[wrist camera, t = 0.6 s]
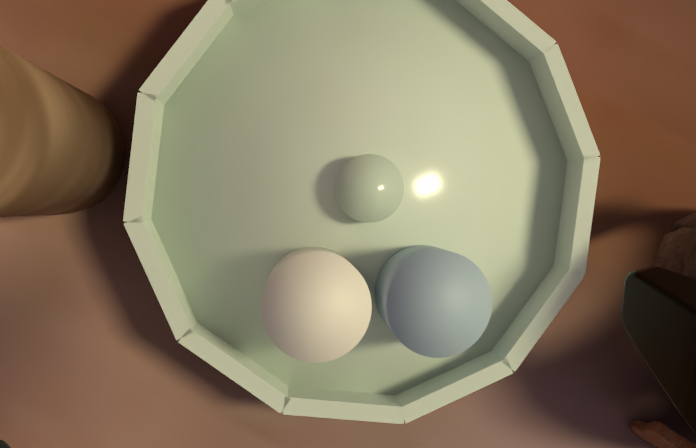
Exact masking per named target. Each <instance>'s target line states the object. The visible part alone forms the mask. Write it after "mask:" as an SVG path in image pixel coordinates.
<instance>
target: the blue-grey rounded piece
mask: <svg viewBox="0 0 696 448" xmlns="http://www.w3.org/2000/svg"><path fill="white" fill-rule="evenodd" d="M374 294H375V303H376V307H377V310H378V312H379V314H380V316H381V318H382V319H383V321H384V322H385V324H386V325H387V326H388V327H389V328H390V330H391V331H392V332H393V333H394V335H395V336H396V337H397V338H398V339H399V341H400V342H401V343H402V344H403V345H405V346H406V347H407V348H408V349H410V350H411V351H413V352H415V353H417V354H419V355H422V356H426V357H431V358H444V357H450V356H454V355H456V354H459V353H461V352H463V351H465V350H467V349H468V348H469V347H471V346H472V345H473V344H474V343H475V342H476V341H477V340H478V339H479V338H480V337H481V335H482V334H483V332H484V331H485V329H486V327H487V325H488V322H489V319H490V315H491V310H492V296H491V290H490V287H489V284H488V281H487V279H486V277H485V276H484V274H483V273H482V271H481V270H480V269H479V267H478V266H477V265H476V264H474V263H473V262H472V261H471V260H469V259H468V258H466V257H464V256H462V255H460V254H457V253H454V252H451V251H448V250H444V249H441V248H438V247H434V246H429V245H415V246H410V247H407V248H404V249H402V250H400V251H398V252H397V253H395V254H394V255H393V256H391V257H390V258H389V259H388V260H387V261H386V263H385V264H384V265H383V267H382V268H381V270H380V272H379V274H378V277H377V280H376V284H375V293H374Z"/></svg>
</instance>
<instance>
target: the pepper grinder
mask: <svg viewBox="0 0 696 448" xmlns="http://www.w3.org/2000/svg"><path fill="white" fill-rule="evenodd" d="M124 156H125V148H124V140H123V136H122V133H121V130H120V127H119V125H118V123H117V121H116V120H115V118H114V117H113V115H112V114H111V112H110V111H109V110H108V109H107V108H106V107H105V106H104V105H103V104H102V103H101V102H99V101H98V100H97V99H95V98H94V97H92V96H90V95H89V94H87V93H85V92H83V91H81V90H80V89H78V88H76V87H74V86H72V85H71V84H69V83H67V82H65V81H63V80H61V79H60V78H58V77H56V76H54V75H52V74H51V73H49V72H47V71H45V70H43V69H42V68H40V67H38V66H36V65H34V64H32V63H31V62H29V61H27V60H25V59H23V58H22V57H20V56H18V55H16V54H14V53H12V52H11V51H9V50H7V49H5V48H3V47H2V46H0V217H5V216H28V215H51V214H69V213H74V212H78V211H81V210H84V209H87V208H89V207H91V206H93V205H95V204H96V203H98V202H99V201H101V200H102V199H103V198H104V197H105V196H106V195H107V194H108V193H109V192H110V191H111V190H112V189H113V187H114V186H115V184H116V183H117V181H118V179H119V176H120V174H121V171H122V168H123V164H124Z"/></svg>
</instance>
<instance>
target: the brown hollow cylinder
mask: <svg viewBox="0 0 696 448" xmlns="http://www.w3.org/2000/svg"><path fill="white" fill-rule="evenodd" d="M672 231H673V232H670V233H667V234H666V235H664V236H663V238H662V240H661V242H660V244H659V247H658V253H657V256H656V259H655V263H654V265H653V266H658V267H662V268H665V269H668V270H671V271H674V272H677V273H681V274H684V275H687V276H690V277H693V278H696V211H695V212H693V213H691V214H689V215H687V216H685V217H683V218H682V219H679V220H678V221H676V222H675V223H674V224H673V225H672ZM630 428H631V429H632V431H633V432H634V433H635V434H637V435H638V436H640V437H641V438H642V439H644V440H645V441H647V442H649V443H650V444H652V445H654V446H656V447H658V448H696V443H694V442H692V441H690V440H688V439H686V438H685V437H683V436H681V435H680V434H678V433H677V432H675V431H673V430H672V429H670V428H669V427H667V426H666V425H664V424H663V423H661V422H659V421H652V422H649V423H645V422H642V421H633V422H632V423H631V424H630Z"/></svg>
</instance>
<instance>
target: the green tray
mask: <svg viewBox="0 0 696 448" xmlns="http://www.w3.org/2000/svg"><path fill="white" fill-rule="evenodd" d="M555 43H556V41H555V40H554V39H552V38H551V37H550V36H549V35H548V34H546V33H545V32H544V31H543V30H542V29H541V28H539V27H538V26H537V25H536V24H535V23H533V22H532V21H531V20H530V19H529V18H527V17H526V16H525V15H524V14H523V13H521V12H520V11H519V10H518V9H517V8H516V7H514V6H513V5H512V4H511V3H510V2H508V1H507V0H208V1H207V2H206V3H205V5H204V6H203V7H202V9H201V10H200V11H199V12H198V14H197V15H196V16H195V18H194V19H193V20H192V21H191V23H190V24H189V25H188V27H187V28H186V29H185V31H184V32H183V33H182V34H181V36H180V37H179V38H178V40H177V41H176V42H175V43H174V45H173V46H172V47H171V49H170V50H169V51H168V53H167V54H166V55H165V56H164V58H163V59H162V60H161V62H160V63H159V64H158V65H157V67H156V68H155V69H154V71H153V72H152V73H151V75H150V76H149V77H148V78H147V80H146V81H145V82H144V84H143V85H142V86H141V87H140V89H139V91H140V92H142V93H138V92H137V101H136V110H135V119H134V128H133V137H132V145H131V154H130V163H129V172H128V181H127V189H126V198H125V207H124V216H123V221H125V222H126V223H124V226H125V229H126V231H127V233H128V235H129V237H130V240H131V242H132V244H133V246H134V248H135V251H136V253H137V255H138V257H139V259H140V262H141V264H142V266H143V268H144V270H145V272H146V275H147V277H148V279H149V281H150V283H151V286H152V288H153V290H154V292H155V294H156V297H157V299H158V301H159V303H160V305H161V308H162V310H163V312H164V314H165V316H166V319H167V321H168V323H169V325H170V327H171V330H172V332H173V334H174V336H175V338H176V340H178V339H180V340H179V342H178V343H180V344H181V345H183V346H184V347H186V348H187V349H188V350H190V351H191V352H193V353H194V354H196V355H197V356H198V357H200V358H201V359H203V360H204V361H206V362H207V363H208V364H210V365H211V366H213V367H214V368H216V369H217V370H219V371H220V372H221V373H223V374H224V375H226V376H227V377H229V378H230V379H231V380H233V381H234V382H236V383H237V384H239V385H240V386H241V387H243V388H244V389H246V390H247V391H249V392H250V393H252V394H253V395H254V396H256V397H257V398H259V399H260V400H262V401H263V402H264V403H266V404H267V405H269V406H270V407H272V408H273V409H274V410H276V411H277V412H279V413H281V412H282V411H283V414H284V415H296V416H309V417H321V418H334V419H346V420H358V421H371V422H383V423H396V424H403V423H404V421H405V423H408V422H410V421H412V420H415V419H417V418H419V417H421V416H423V415H425V414H427V413H430V412H432V411H434V410H436V409H438V408H440V407H442V406H445V405H447V404H449V403H451V402H453V401H455V400H457V399H460V398H462V397H464V396H466V395H468V394H470V393H472V392H474V391H477V390H479V389H481V388H483V387H485V386H487V385H489V384H492V383H494V382H496V381H498V380H500V379H502V378H504V377H507V376H509V375H511V374H513V372H512V370H513V371H514V372H515V371H516V370H517V368H518V367H519V366H520V364H521V363H522V362H523V360H524V359H525V357H526V356H527V355H528V353H529V352H530V351H531V349H532V348H533V346H534V345H535V344H536V342H537V341H538V340H539V338H540V337H541V335H542V334H543V333H544V331H545V330H546V328H547V327H548V326H549V324H550V323H551V322H552V320H553V319H554V317H555V316H556V315H557V313H558V312H559V311H560V309H561V308H562V306H563V305H564V304H565V302H566V301H567V300H568V298H569V297H570V295H571V294H572V293H573V291H574V290H575V289H576V287H577V286H578V284H579V283H580V282H581V280H582V279H583V278H584V276H583V275H581V274H585V271H586V263H587V256H588V248H589V240H590V233H591V225H592V218H593V210H594V203H595V195H596V188H597V180H598V172H599V165H600V157H597V156H599V155H600V153H599V151H598V148H597V145H596V143H595V140H594V138H593V135H592V132H591V130H590V127H589V124H588V122H587V119H586V117H585V114H584V111H583V109H582V106H581V104H580V101H579V98H578V96H577V93H576V90H575V88H574V85H573V83H572V80H571V77H570V75H569V72H568V69H567V67H566V64H565V62H564V59H563V56H562V54H561V51H560V49H559V46H558V44H556V45H554V44H555ZM415 245H429V246H434V247H438V248H441V249H444V250H448V251H451V252H454V253H457V254H460V255H462V256H464V257H466V258H468V259H469V260H471V261H472V262H473V263H474V264H476V265H477V266H478V267H479V269H480V270H481V271H482V273H483V274H484V276H485V277H486V279H487V281H488V284H489V287H490V290H491V296H492V310H491V315H490V319H489V322H488V325H487V327H486V329H485V331H484V332H483V334H482V335H481V337H480V338H479V339H478V340H477V341H476V342H475V343H474V344H473V345H472V346H471V347H469V348H468V349H467V350H465V351H463V352H461V353H459V354H456V355H454V356H450V357H444V358H431V357H426V356H422V355H419V354H417V353H415V352H413V351H411V350H410V349H408V348H407V347H406V346H405V345H403V344H402V343H401V342H400V341H399V339H398V338H397V337H396V336H395V335H394V333H393V332H392V331H391V330H390V328H389V327H388V326H387V325H386V324H385V322H384V321H383V319H382V318H381V316H380V314H379V312H378V310H377V307H376V303H375V294H374V293H375V284H376V280H377V277H378V274H379V272H380V270H381V268H382V267H383V265H384V264H385V263H386V261H387V260H388V259H389V258H390V257H391V256H393V255H394V254H395V253H397V252H398V251H400V250H402V249H404V248H407V247H410V246H415ZM305 247H322V248H327V249H330V250H332V251H335V252H337V253H338V254H340V255H341V256H343V257H344V258H345V259H346V260H348V261H349V262H350V263H351V264H352V265H353V266H354V267H355V268H356V269H357V270H358V271H359V272H360V274H361V275H362V277H363V278H364V280H365V282H366V284H367V286H368V288H369V291H370V295H371V302H372V312H371V318H370V322H369V325H368V328H367V330H366V332H365V334H364V336H363V337H362V339H361V340H360V341H359V343H358V344H357V345H356V346H355V347H354V348H353V349H352V350H350V351H349V352H348V353H346V354H345V355H343V356H341V357H339V358H337V359H334V360H331V361H327V362H320V363H310V362H304V361H300V360H297V359H294V358H292V357H290V356H288V355H287V354H285V353H283V352H282V351H281V350H280V349H279V348H278V347H277V346H276V345H275V344H274V343H273V342H272V340H271V339H270V338H269V336H268V334H267V332H266V330H265V327H264V325H263V320H262V314H261V302H262V297H263V293H264V289H265V285H266V282H267V279H268V276H269V274H270V272H271V271H272V269H273V268H274V266H275V265H276V264H277V263H278V262H279V261H280V260H281V259H282V258H283V257H284V256H286V255H287V254H289V253H291V252H293V251H295V250H298V249H301V248H305Z"/></svg>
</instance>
